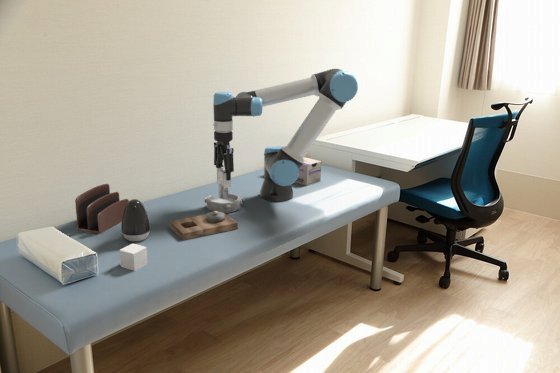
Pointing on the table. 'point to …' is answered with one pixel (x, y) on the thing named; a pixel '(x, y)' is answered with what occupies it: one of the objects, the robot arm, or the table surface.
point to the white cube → (133, 256)
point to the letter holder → (99, 209)
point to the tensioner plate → (203, 225)
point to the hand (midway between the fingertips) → (223, 184)
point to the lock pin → (222, 185)
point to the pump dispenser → (135, 221)
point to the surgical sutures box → (309, 172)
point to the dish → (224, 203)
